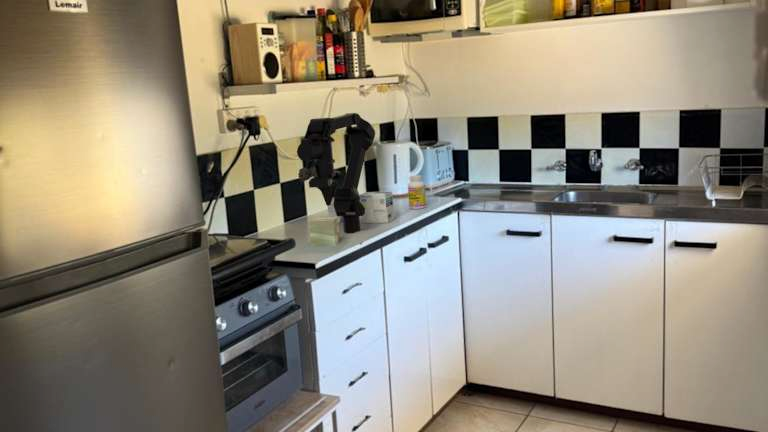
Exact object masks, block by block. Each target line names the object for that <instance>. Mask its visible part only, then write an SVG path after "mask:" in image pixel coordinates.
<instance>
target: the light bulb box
mask: <svg viewBox="0 0 768 432" xmlns="http://www.w3.org/2000/svg"><path fill="white" fill-rule="evenodd" d="M359 195H360V202H361V204H362V205H363V206H364V208H365V214H364V215H363V216H361V223H362V224H388V223H390V222H392V221H395V218H396V217H395V210H394V200H393V199H394V198H393V197H394V195H393V191H391V190H390V191H366V192H363V193H359Z"/></svg>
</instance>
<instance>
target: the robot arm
mask: <svg viewBox="0 0 768 432" xmlns="http://www.w3.org/2000/svg"><path fill="white" fill-rule="evenodd" d="M343 128H345V133H346V134H347V136H348V137H349V140H348V141H349V143H350V146H351V150H350V155H349V159H348V162H347V168H346V173H345V177H344V181H343V185H342V186H341V187H338V188H337V185H338V183H339V182H338V181H340V180H343V173H342V172H341V171H340V170H335V168H334V164H335V163H336V159H335V158H334V156H333V145H332V143H334V142H336V141H335V138H333V137H332V135H333V134H335V133H336V132H337V130H340V129H343ZM375 137H376V130H375V129H374V127H373V125H372V124H371V123H370V122H369V121H367V120H365V119H364V118H363V117H361V115H360V114H359V113H357V112H352V113H349V112H347V113H345V114H342V115H339V116H338V115H337V116H334V117H317V118H311V119H309V123H308V125H307V127H306V132H305V135H304V138H303V139H301V141H300V142H301V143H300V144H298V146H297V150H296V154H297V157H298V159H300V160H301V161H302V162H310V161H313V162H312V166H311V167H309V168H307V167H302V168H300V169H298V170H299V171H298V173H297V174H298V178H299V179H301V182H302V183H304V182H306V181H308V180H309V181H308V188H316V189H318V190H319V191H320V192H321V195H322V197H323V200H324V202H325V205H326V206H327V207H328V206H329V205H331V201H332V198H333V197H334V203H333V205H334V209H335V212H336V215H337V216H343V221H342V224H343V233H344V234H346V235H347V234H355V233H358V232H361V231H364V229H361V222H360V221H361V220H360V217H362V216H363V215H364V214H365V208H364V206H363V205H362V204H361V202H360V192H359V190H358V188H359V184H360V179H361V174H362V170H363V166H364V161H365V157H366V152H367V151H368V150H369V149H370V147H372V145H373V142H374V140H375ZM334 180H338V181H337V182H336V181H335V182H334Z"/></svg>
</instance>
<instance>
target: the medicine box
mask: <svg viewBox="0 0 768 432" xmlns="http://www.w3.org/2000/svg"><path fill="white" fill-rule="evenodd" d="M334 197H335V196H333V198H332V201H331V205H329V206H327V213H328V218H335V217H337V218H338V224H340V223H342V222H343V216H337V215H336V212H335V209H334V205H333V203H334Z"/></svg>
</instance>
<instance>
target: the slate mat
mask: <svg viewBox="0 0 768 432" xmlns="http://www.w3.org/2000/svg"><path fill="white" fill-rule="evenodd" d="M349 242H350V240H342V241H341V240H340V242H339V243H338V244H337V245H336V246H311V242H306V243H305V244H304V245H302V246H301V247H300V248H298V249H297V250H296V251H294V252H293V253H292V255H310V254H311V255H313V254H316V255H317V254H337V253H339V252H340V251H341V250H342V249H343V248H344V247H345V246H346V245H347V244H348V243H349Z"/></svg>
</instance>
